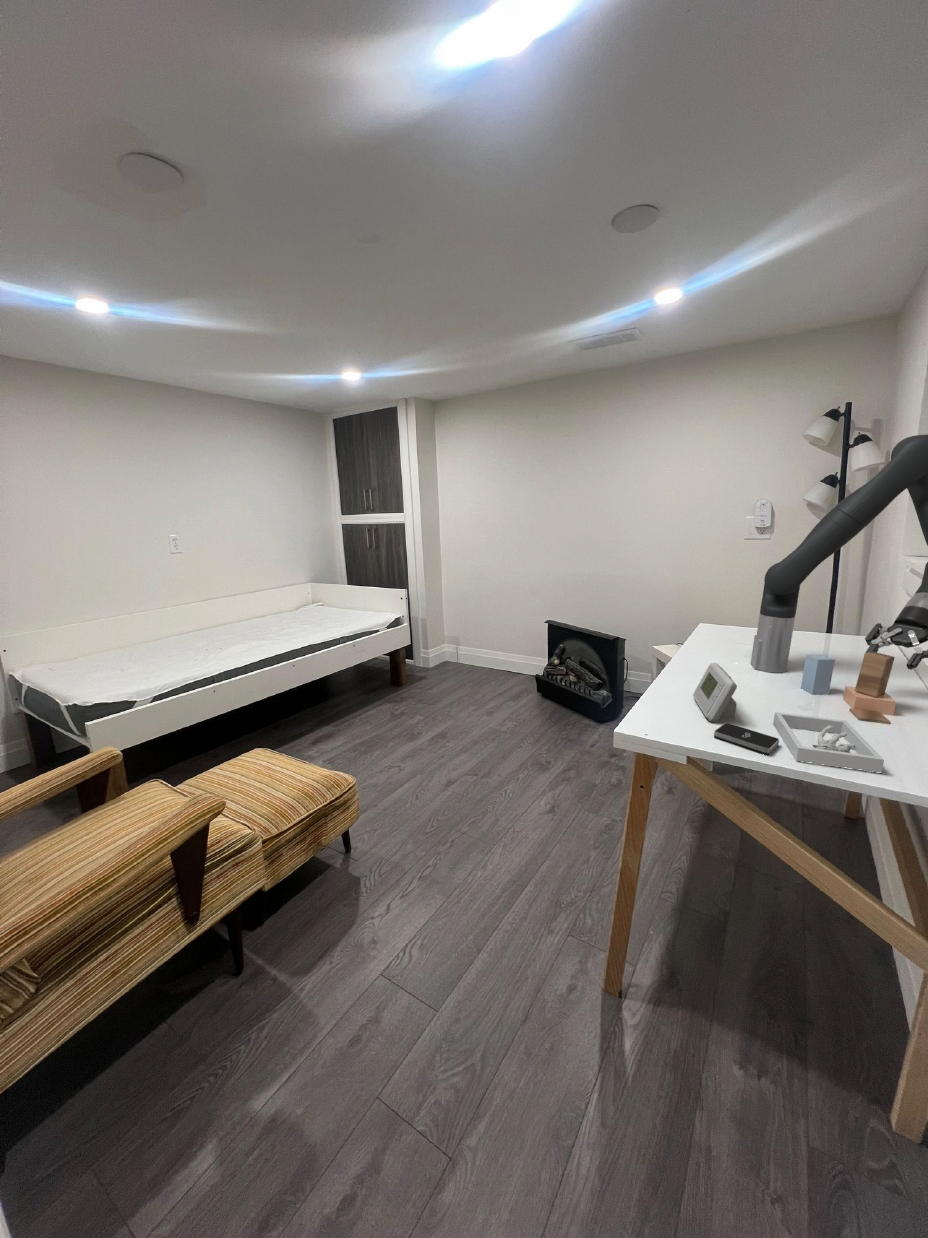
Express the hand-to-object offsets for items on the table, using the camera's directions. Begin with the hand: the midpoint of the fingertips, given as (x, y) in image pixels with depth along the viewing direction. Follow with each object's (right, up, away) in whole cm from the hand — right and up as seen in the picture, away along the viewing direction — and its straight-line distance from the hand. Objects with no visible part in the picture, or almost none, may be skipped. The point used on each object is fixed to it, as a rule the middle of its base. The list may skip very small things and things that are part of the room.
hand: (888, 662), depth 123 cm
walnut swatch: (-9, -13, -6) cm, 17 cm away
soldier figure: (-31, -17, -22) cm, 42 cm away
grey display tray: (-32, -16, -20) cm, 41 cm away
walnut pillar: (-5, -8, 0) cm, 9 cm away
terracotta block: (-5, -12, 0) cm, 13 cm away
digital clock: (-46, -12, -2) cm, 48 cm away
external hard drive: (-47, -16, -17) cm, 52 cm away
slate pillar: (-11, -9, +11) cm, 18 cm away
